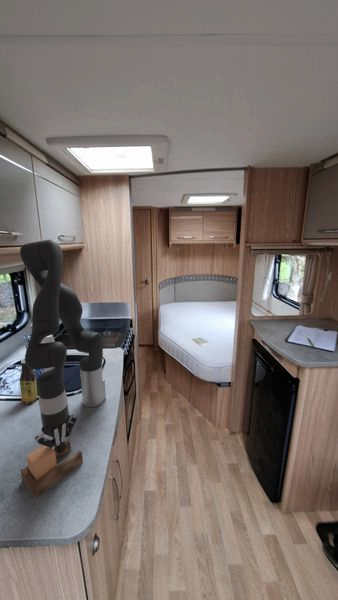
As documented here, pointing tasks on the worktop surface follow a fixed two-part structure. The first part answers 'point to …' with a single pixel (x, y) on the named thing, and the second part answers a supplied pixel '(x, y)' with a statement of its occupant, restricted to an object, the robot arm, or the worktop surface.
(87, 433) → the worktop surface
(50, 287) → the robot arm
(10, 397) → the worktop surface
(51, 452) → the block
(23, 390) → the sauce bottle
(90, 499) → the worktop surface
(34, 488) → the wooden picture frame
